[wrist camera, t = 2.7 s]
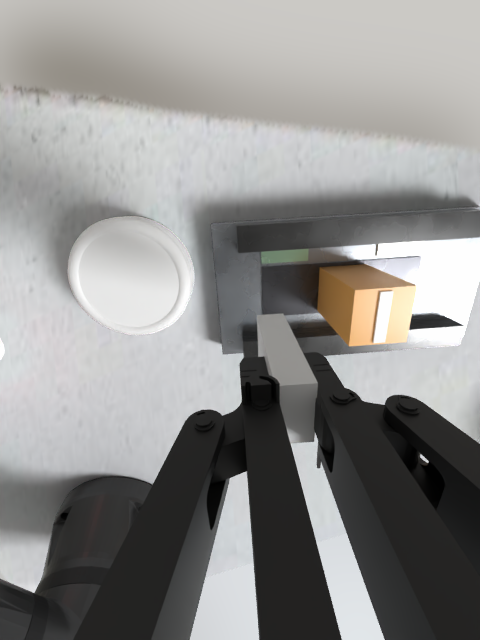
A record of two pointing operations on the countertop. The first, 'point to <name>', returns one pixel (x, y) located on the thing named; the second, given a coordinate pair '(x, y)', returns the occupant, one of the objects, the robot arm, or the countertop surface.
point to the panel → (339, 250)
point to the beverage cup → (1, 349)
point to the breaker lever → (365, 304)
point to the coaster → (131, 274)
